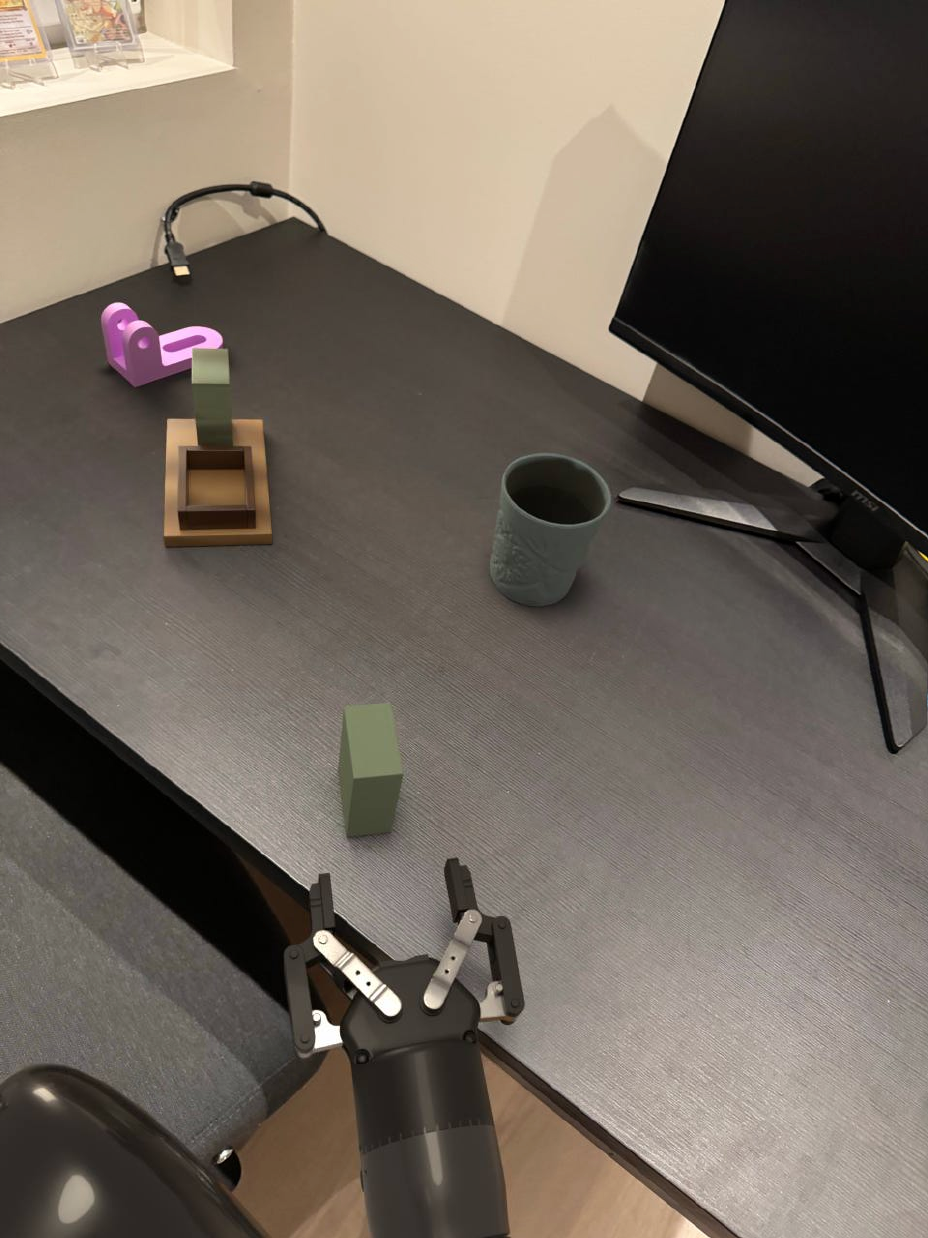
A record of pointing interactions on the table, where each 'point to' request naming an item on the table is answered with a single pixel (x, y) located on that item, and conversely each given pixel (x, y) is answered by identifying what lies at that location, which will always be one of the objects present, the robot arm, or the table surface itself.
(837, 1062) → the table surface
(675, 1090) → the table surface
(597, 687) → the table surface
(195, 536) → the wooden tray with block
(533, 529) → the grey green embossed cup
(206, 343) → the bracket
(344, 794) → the green rectangular block
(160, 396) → the table surface
